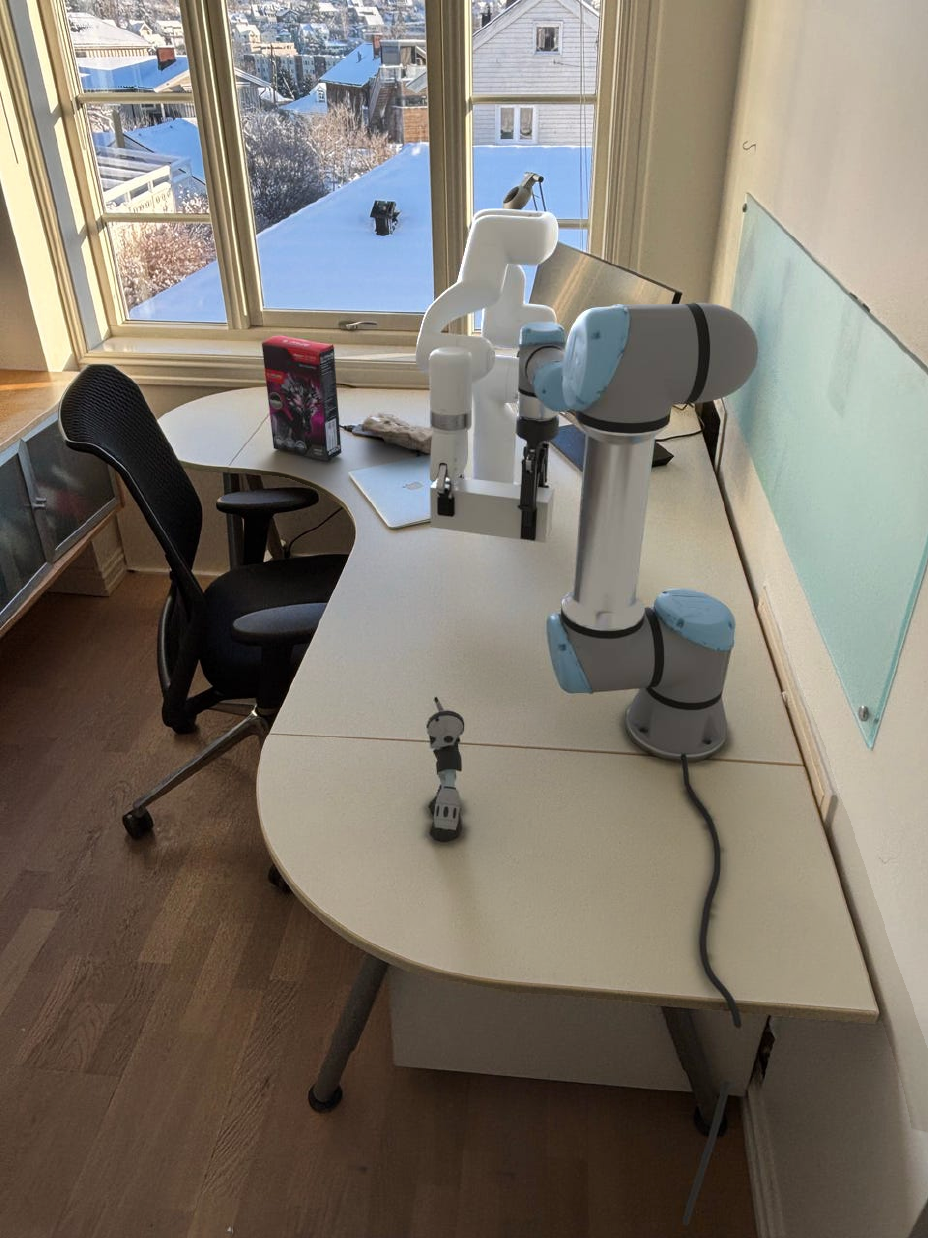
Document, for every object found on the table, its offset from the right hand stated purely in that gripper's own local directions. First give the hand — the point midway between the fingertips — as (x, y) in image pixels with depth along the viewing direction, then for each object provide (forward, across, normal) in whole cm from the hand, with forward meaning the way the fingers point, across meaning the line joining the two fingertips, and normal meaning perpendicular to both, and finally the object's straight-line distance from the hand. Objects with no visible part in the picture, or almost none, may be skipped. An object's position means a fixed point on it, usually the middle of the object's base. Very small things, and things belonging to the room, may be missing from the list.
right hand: (531, 530), depth 174 cm
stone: (+11, -56, -46) cm, 73 cm away
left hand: (-3, 0, -16) cm, 16 cm away
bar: (+1, 0, -8) cm, 8 cm away
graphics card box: (+11, -44, -66) cm, 80 cm away
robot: (+11, +66, +2) cm, 67 cm away
